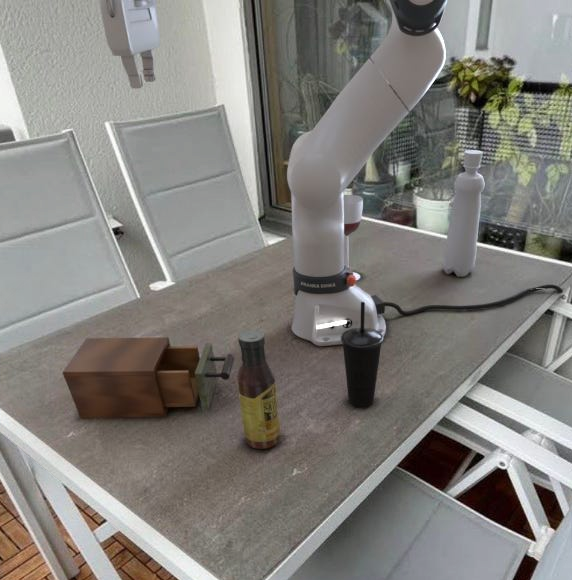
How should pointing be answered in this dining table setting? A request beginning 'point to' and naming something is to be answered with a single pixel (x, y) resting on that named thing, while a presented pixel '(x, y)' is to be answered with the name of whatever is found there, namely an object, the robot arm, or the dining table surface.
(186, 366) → the drawer
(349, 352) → the drinking cup
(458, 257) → the bottle
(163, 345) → the cabinet
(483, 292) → the dining table surface
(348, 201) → the wineglass
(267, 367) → the sauce bottle
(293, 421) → the dining table surface
